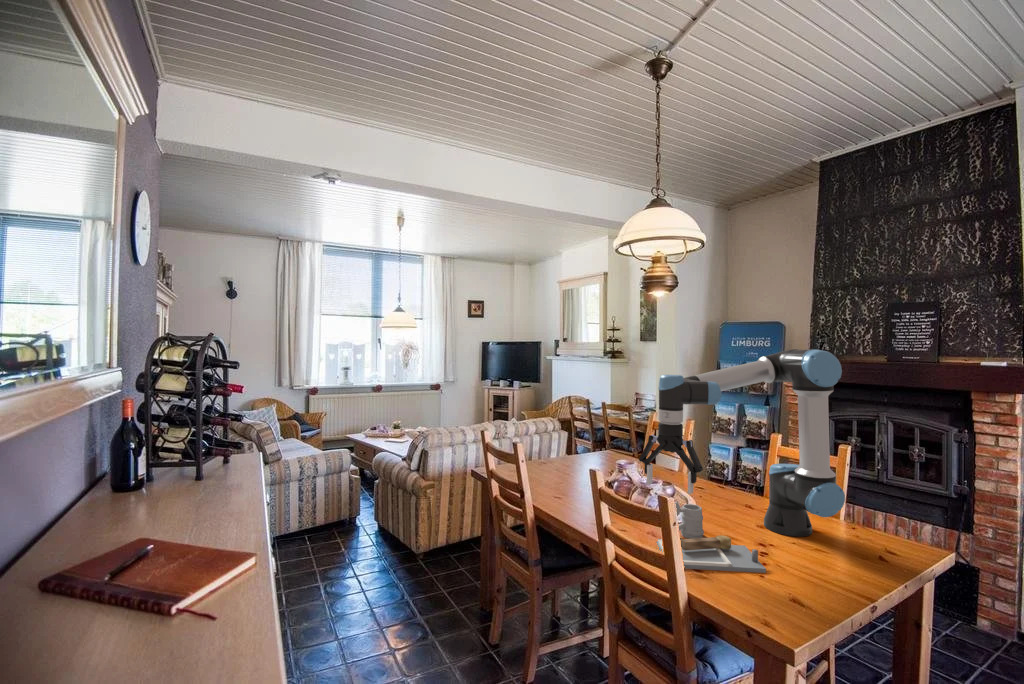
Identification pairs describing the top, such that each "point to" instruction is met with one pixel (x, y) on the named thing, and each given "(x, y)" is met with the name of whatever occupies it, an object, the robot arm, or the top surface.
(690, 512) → the mug
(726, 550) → the board
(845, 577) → the top surface
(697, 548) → the bar
